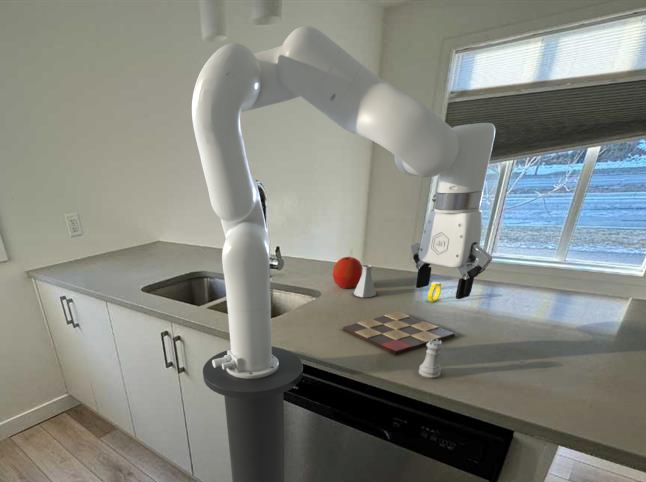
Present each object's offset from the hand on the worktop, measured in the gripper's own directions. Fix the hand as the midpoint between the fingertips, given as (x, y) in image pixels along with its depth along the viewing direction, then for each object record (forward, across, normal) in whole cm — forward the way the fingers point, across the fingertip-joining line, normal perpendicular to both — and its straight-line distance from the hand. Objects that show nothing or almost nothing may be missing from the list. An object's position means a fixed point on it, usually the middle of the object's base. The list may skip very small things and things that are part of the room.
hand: (441, 291), depth 83 cm
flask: (+18, -50, +26) cm, 59 cm away
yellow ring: (+18, -31, +38) cm, 52 cm away
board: (+18, -19, +9) cm, 28 cm away
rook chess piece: (+18, +2, -2) cm, 18 cm away
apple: (+18, -60, +27) cm, 69 cm away
